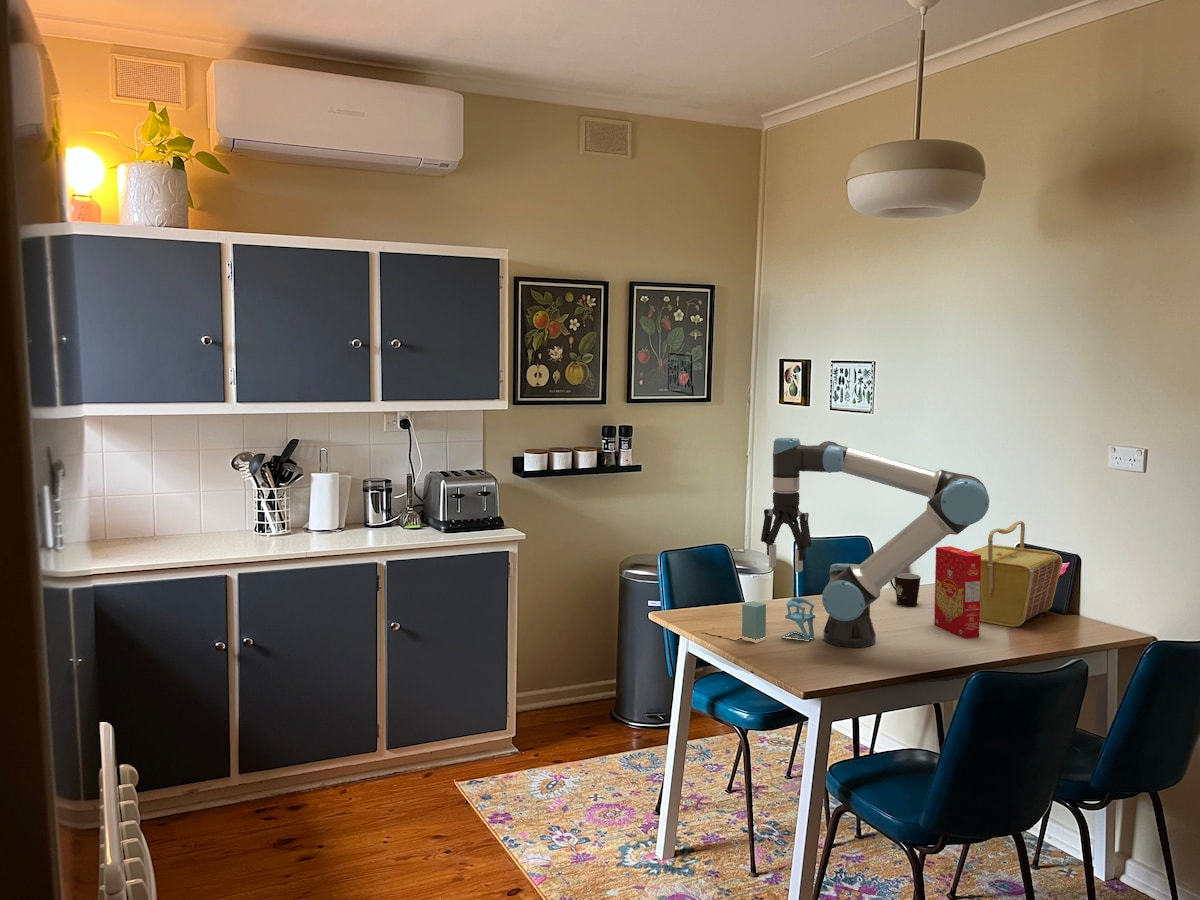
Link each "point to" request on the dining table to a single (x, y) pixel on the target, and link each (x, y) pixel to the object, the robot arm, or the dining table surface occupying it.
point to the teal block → (754, 620)
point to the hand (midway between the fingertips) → (785, 569)
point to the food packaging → (957, 591)
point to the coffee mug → (906, 589)
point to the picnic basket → (1016, 580)
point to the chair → (801, 618)
